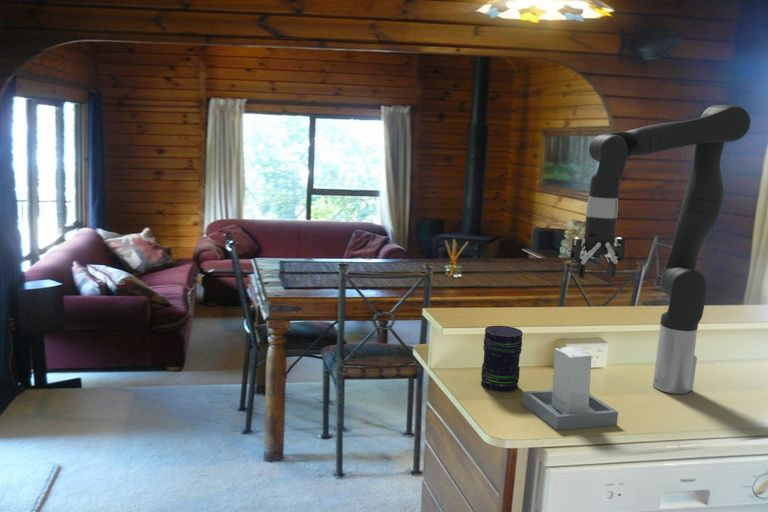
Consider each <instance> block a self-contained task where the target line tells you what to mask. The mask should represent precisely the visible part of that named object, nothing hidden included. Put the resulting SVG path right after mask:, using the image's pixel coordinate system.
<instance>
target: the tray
mask: <svg viewBox="0 0 768 512" xmlns="http://www.w3.org/2000/svg"><path fill="white" fill-rule="evenodd" d="M522 397H523V398H522V405H523V406H525V407H526V408H527V409H528V410H530V411H531V412H532V413H534V414H535V415H536V416H537V417H539V419H541V420H542V421H544V422H545V423H546V424H548V425H549V426H550V427H551V428H552V429H553V430H555V431H562V430H574V429H585V428H596V427H609V426H617V425H618V418H619V411H617V409H614V408H613V407H612V406H610V405H608V404H606V403H605V402H604V401H602V400H601V399H599V398H597V397H596V396H594V395H593V394H591V393H589V409H588V412H584V413H572V414H562V413H561V412H560V411H558V410H557V409H556V408H554V407H553V406H552V389H544V390H543V389H542V390H540V389H539V390H527V391H523V395H522Z"/></svg>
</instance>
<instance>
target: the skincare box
mask: <svg viewBox="0 0 768 512" xmlns="http://www.w3.org/2000/svg"><path fill="white" fill-rule="evenodd" d="M553 352H554V355H553V374H552V389H551V390H552V406H553V407H554V408H556V409H557V410H558V411H560V412H561V413H562V414H572V413H584V412H588V409H589V393H590V391H591V390H590V389H591V372H592V371H591V370H592V369H591V368H592V356H593V355H591V354H589V353H587V352H585V351H583V350H582V349H580V348H578V347H576V346H568V347H567V346H566V347H565V346H564V347H555V348H554V351H553ZM590 394H591V393H590Z"/></svg>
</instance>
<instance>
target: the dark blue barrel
mask: <svg viewBox="0 0 768 512" xmlns="http://www.w3.org/2000/svg"><path fill="white" fill-rule="evenodd" d="M523 334H524V333H523V331H522V330H521V329H518V328H516V327H513V326H507V325H490V326H486V327H485V329H484V338H483V346H482V347H483V352H484V353H483V363H482V364H481V374H480V376H481V378H480V379H481V381H480V386H481V387H482V388H484V389H486V390H488V391H492V392H497V393H511V392H515V391H517V390H518V389H519V384H518V383H519V380H520V356H521V352H522V347H523Z"/></svg>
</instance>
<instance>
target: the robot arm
mask: <svg viewBox="0 0 768 512" xmlns="http://www.w3.org/2000/svg"><path fill="white" fill-rule="evenodd" d="M750 127H751V117H750V114H749V113H748V111H747V110H745V108H743V107H741V106H738V105H734V104H715V105H711V106H709V107H707V108H706V109H705V110H704V111H703V112H702V114H701V116H700V117H699V118H693V119H689V120H679V121H669V122H664V123H663V122H662V123H657V124H656V123H655V124H653V125H652V124H651V125H646V126H642V127H638V128H633V129H629V130H623V131H615V132H610V133H609V132H608V133H604V134H600V135H597V136H595V138H593V139H592V140H591V142H590V144H589V148H588V152H589V155H590V157H591V158H592V159H593V160H595V161H596V162H598V167H597V171H596V172H595V173H593V174H592V176H591V178H590V182H589V193H588V199H587V205H586V211H585V212H586V213H585V223H584V233H585V235H584V237H583V238H580V237H577V236H574V237H573V238H572V242H571V243H572V244H571V249H570V254H569V255H570V257H569V260H570V261H573V262H575V263H576V269H575V270H576V271H575V275H576V277H577V279H580V280H583V279H585V276H586V265H587V264H586V262H587V261H588V260H589V259H591V258H592V257H593V256H599V255H601V256H605V258H606V259H607V261H608V262H607V265H606V275H605V276H606V278H608V279H614V277H615V275H616V272H617V271H616V270H617V264H618V263H620V262H624V259H625V249H626V248H625V247H626V245H625V244H626V239H625V238H622V237H619V236H616V237H615V234H616V230H617V222H618V221H617V220H618V212H619V195H620V194H619V192H620V181H621V178H622V177H623V173H624V170H625V167H626V163H627V160H628V157H629V158H630V157H645V156H648V155H653V154H657V153H663V152H666V151H671V150H675V149H680V148H683V147H687V146H688V147H689V146H692V145H695V147H694V153H693V160H692V163H691V166H690V172H689V176H688V181H687V185H686V187H685V188H686V189H685V190H684V196H683V201H682V204H681V207H680V213H679V216H678V222H677V226H676V229H675V234H674V238H673V242H672V245H671V249H670V252H669V254H668V257H667V259H666V262H665V265H664V268H663V271H662V273H661V276H660V277H661V279H660V285H661V289H662V291H663V292H664V294H665V295H667V296H668V297H670V298H669V304H668V309H667V310H666V311H665V312H663V313H662V314H661V316H660V325H659V333H658V338H657V339H658V340H657V347H656V348H657V349H656V357H655V365H654V373H653V381H652V382H653V383H652V386H653V387H654V388H655V389H656V390H658V391H661V392H663V393H669V394H676V395H678V394H679V395H685V394H689V392H692V391H693V390H694V383H695V375H696V369H697V360H698V357H697V356H696V355H695V352H696V351H695V350H696V344H697V343H696V342H697V336H698V335H697V334H698V327H699V323H700V321H701V320H702V318H703V315H704V309H705V303H706V297H707V293H708V291H707V289H708V287H707V286H708V285H707V280H706V277H705V276H704V274H702V272H700V271H698V270H696V266H697V262H698V257H699V256H698V255H699V253H700V250H701V247H702V246H703V244H704V242H705V241H706V239H707V238H708V237H709V235H710V234H711V232H712V230H713V229H714V227H715V226H716V224H717V221H718V219H719V215H720V213H721V208H722V205H723V204H722V203H723V199H724V185H723V177H722V172H721V158H722V154H723V151H724V146H725V143H733V142H736V141H738V140H741V139H742V138H743V137H745V136H746V135H747V133H748V132H749V129H750ZM583 246H584V247H583ZM613 246H614V249H613ZM582 247H583V248H582Z"/></svg>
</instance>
